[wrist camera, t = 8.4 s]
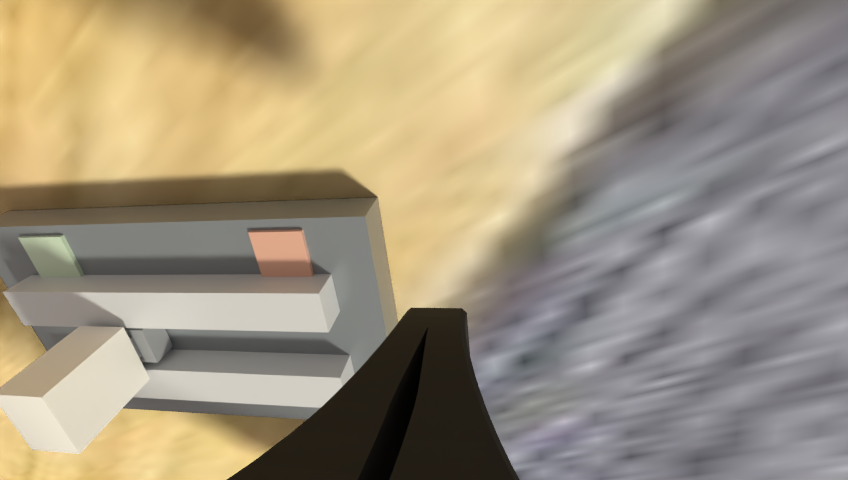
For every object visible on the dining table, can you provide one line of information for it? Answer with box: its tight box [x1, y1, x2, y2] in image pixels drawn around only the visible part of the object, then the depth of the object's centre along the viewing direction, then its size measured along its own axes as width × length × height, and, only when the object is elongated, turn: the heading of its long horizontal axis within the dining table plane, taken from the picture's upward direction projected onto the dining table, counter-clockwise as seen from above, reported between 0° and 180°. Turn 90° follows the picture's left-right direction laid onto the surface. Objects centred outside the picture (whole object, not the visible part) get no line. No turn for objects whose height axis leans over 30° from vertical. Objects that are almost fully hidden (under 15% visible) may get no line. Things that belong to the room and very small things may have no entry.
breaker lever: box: [0, 326, 173, 454], centre depth 21 cm, size 3×3×6 cm
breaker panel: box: [0, 197, 398, 420], centre depth 23 cm, size 20×12×4 cm, turn 96°
